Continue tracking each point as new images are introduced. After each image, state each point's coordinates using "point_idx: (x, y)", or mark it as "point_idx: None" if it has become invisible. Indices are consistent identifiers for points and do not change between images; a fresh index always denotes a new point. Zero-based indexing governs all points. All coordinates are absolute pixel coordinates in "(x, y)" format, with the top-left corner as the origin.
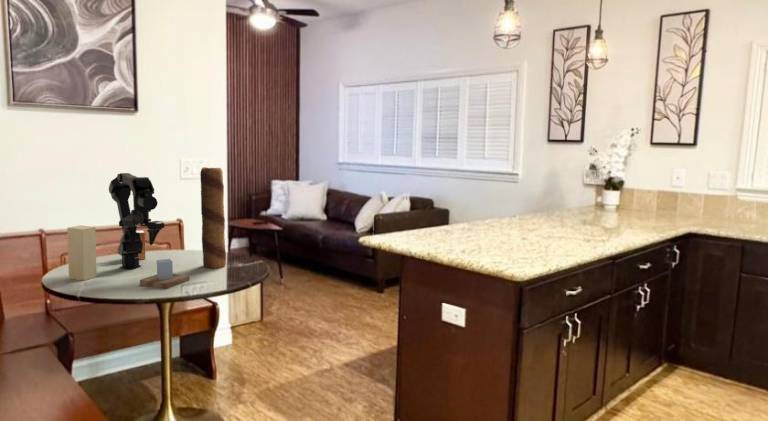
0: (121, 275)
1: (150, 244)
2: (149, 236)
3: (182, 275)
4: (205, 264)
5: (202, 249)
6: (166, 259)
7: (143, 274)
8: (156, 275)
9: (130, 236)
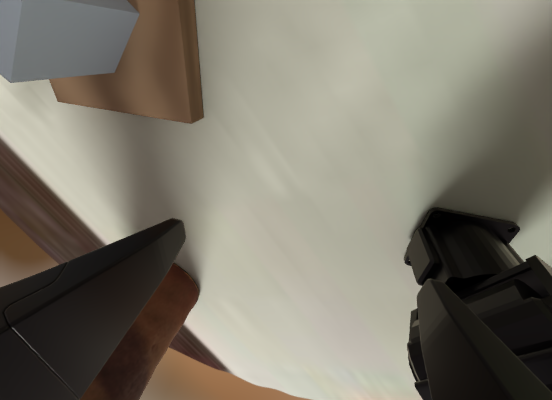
0: (435, 82)
1: (169, 220)
2: (70, 284)
3: (78, 95)
4: (168, 271)
5: (156, 329)
6: (4, 53)
7: (318, 139)
8: (169, 49)
9: (507, 375)
